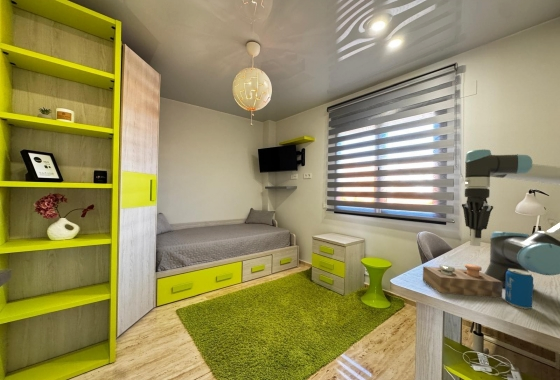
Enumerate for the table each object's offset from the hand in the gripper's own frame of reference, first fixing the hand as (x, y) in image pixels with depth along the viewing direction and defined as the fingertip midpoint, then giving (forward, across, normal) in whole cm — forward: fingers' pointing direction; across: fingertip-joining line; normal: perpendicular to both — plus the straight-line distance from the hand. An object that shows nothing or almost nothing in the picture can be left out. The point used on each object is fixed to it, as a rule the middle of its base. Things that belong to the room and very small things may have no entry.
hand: (475, 245), depth 88 cm
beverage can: (+18, +11, +6) cm, 22 cm away
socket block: (+18, 0, -6) cm, 19 cm away
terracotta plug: (+16, 0, 0) cm, 16 cm away
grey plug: (+17, 0, -10) cm, 20 cm away
